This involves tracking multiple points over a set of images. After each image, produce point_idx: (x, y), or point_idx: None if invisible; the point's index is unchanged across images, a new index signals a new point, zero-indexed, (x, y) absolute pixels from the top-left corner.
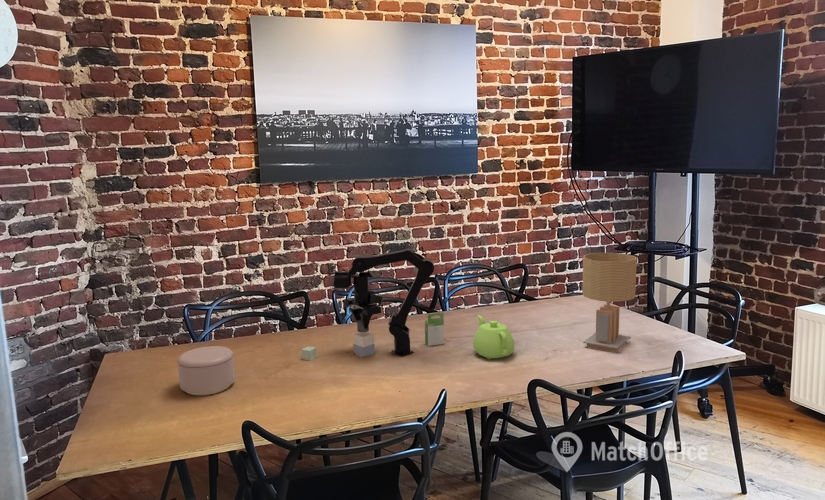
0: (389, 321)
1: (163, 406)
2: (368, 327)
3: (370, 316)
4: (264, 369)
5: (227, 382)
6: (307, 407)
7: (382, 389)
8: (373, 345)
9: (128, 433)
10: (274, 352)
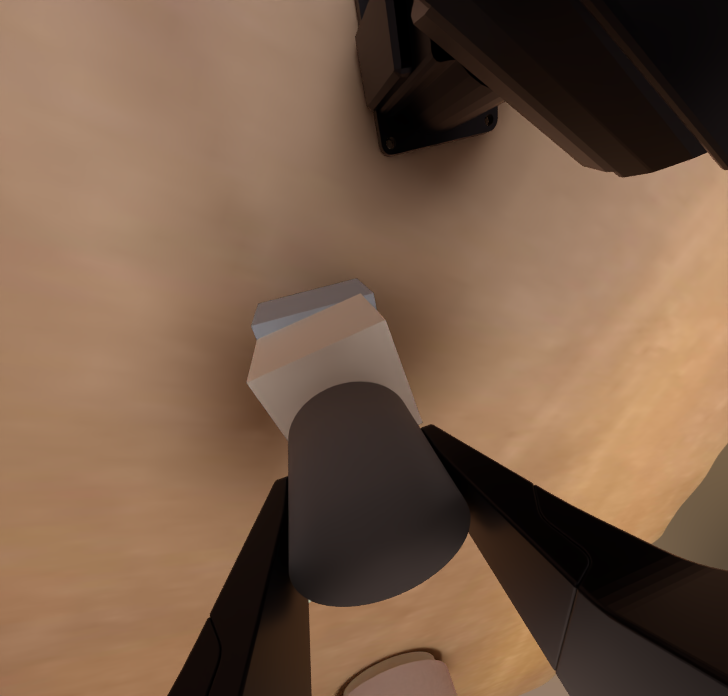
0: (701, 47)
1: None
2: (399, 410)
3: (654, 567)
4: (338, 630)
5: (442, 672)
6: (614, 518)
7: (687, 355)
8: (373, 300)
9: (504, 682)
10: (163, 651)
